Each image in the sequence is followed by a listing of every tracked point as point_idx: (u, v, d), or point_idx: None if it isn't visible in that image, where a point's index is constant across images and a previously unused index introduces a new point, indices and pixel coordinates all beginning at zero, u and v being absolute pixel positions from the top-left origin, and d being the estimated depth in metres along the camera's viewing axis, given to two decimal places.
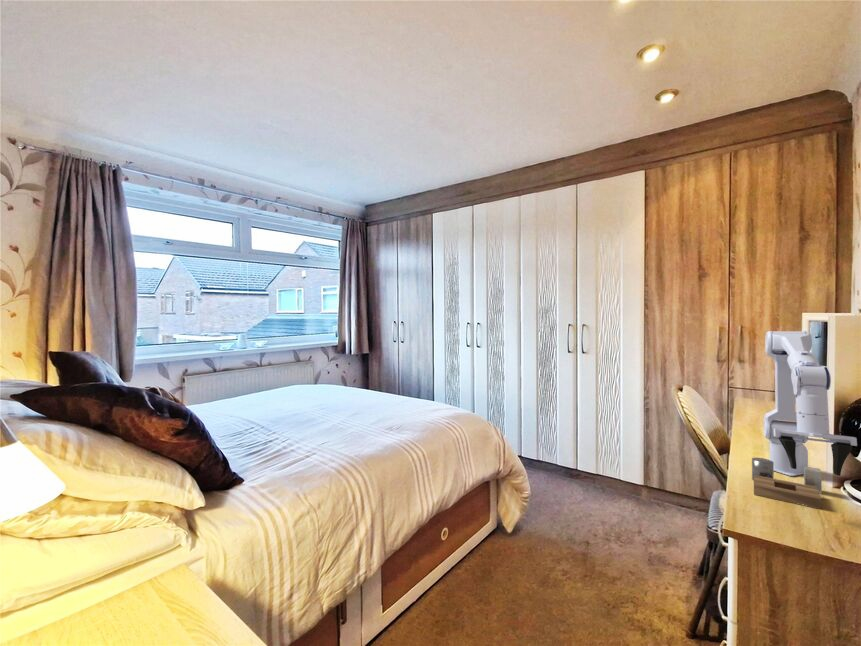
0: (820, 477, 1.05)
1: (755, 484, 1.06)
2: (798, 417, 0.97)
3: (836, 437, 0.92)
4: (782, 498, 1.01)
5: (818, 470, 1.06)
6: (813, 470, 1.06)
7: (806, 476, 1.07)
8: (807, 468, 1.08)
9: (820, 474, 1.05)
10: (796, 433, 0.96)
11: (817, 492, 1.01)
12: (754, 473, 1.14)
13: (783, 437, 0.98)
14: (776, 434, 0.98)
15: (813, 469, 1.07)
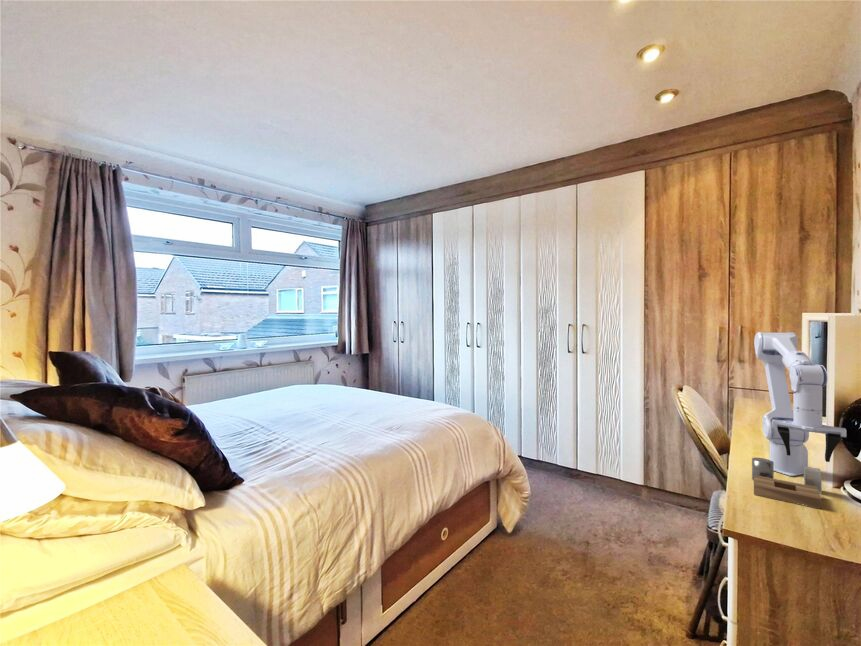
0: (820, 477, 1.05)
1: (755, 484, 1.06)
2: (794, 411, 1.08)
3: (827, 429, 1.03)
4: (782, 498, 1.01)
5: (818, 470, 1.06)
6: (813, 470, 1.06)
7: (806, 476, 1.07)
8: (807, 468, 1.08)
9: (820, 474, 1.05)
10: (791, 425, 1.07)
11: (817, 492, 1.01)
12: (754, 473, 1.14)
13: (779, 428, 1.10)
14: (773, 425, 1.10)
15: (813, 469, 1.07)
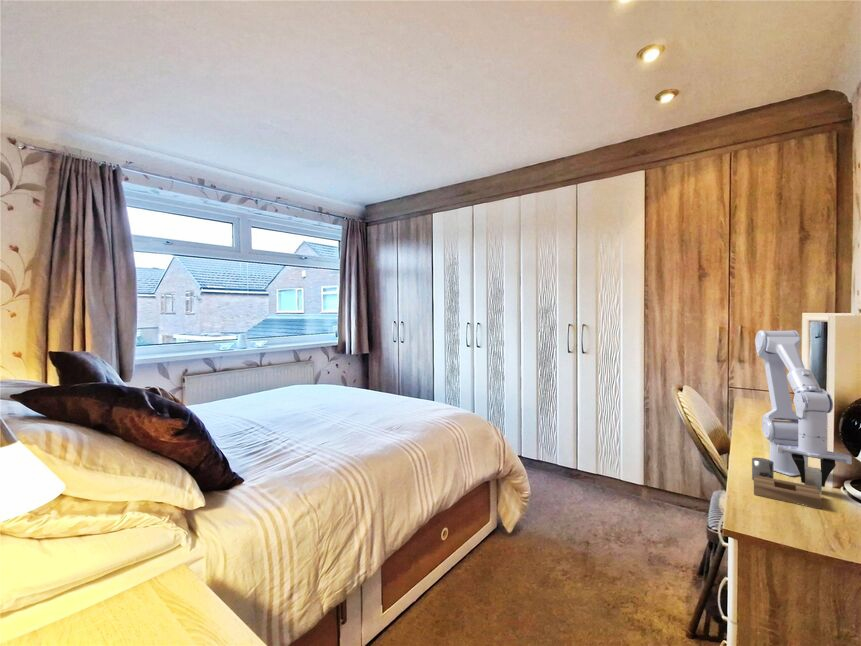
0: (820, 477, 1.05)
1: (755, 484, 1.06)
2: (799, 437, 1.08)
3: (832, 456, 1.03)
4: (782, 498, 1.01)
5: (818, 470, 1.06)
6: (813, 470, 1.06)
7: (806, 476, 1.07)
8: (807, 468, 1.08)
9: (820, 474, 1.05)
10: (796, 451, 1.08)
11: (817, 492, 1.01)
12: (754, 473, 1.14)
13: (794, 455, 1.09)
14: (778, 451, 1.11)
15: (813, 469, 1.07)
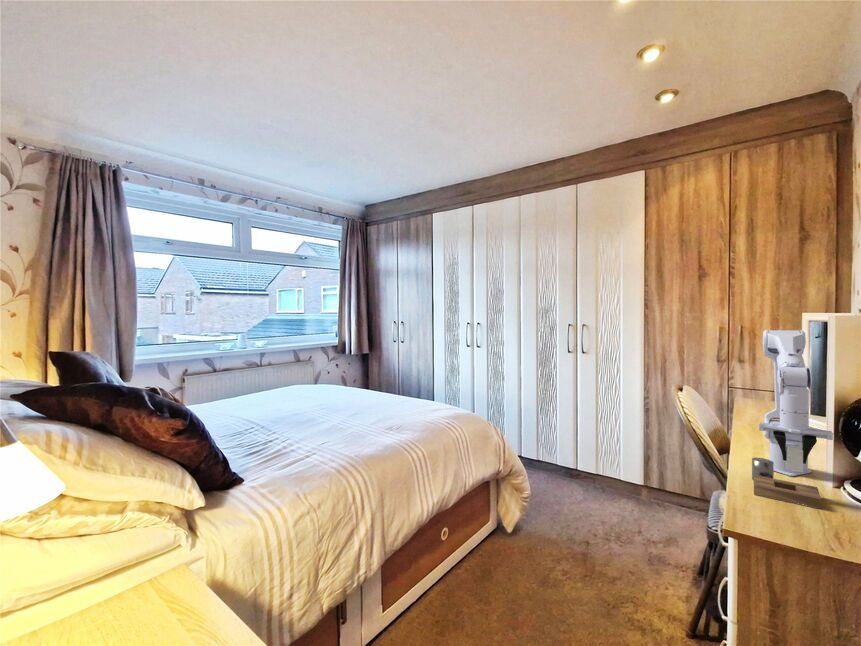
0: (802, 455, 1.03)
1: (755, 484, 1.06)
2: (780, 413, 1.06)
3: (813, 432, 1.01)
4: (782, 498, 1.01)
5: (800, 448, 1.04)
6: (795, 448, 1.04)
7: (788, 454, 1.05)
8: (789, 446, 1.06)
9: (802, 452, 1.03)
10: (777, 428, 1.06)
11: (817, 492, 1.01)
12: (754, 473, 1.14)
13: (775, 432, 1.07)
14: (760, 428, 1.09)
15: (794, 447, 1.05)
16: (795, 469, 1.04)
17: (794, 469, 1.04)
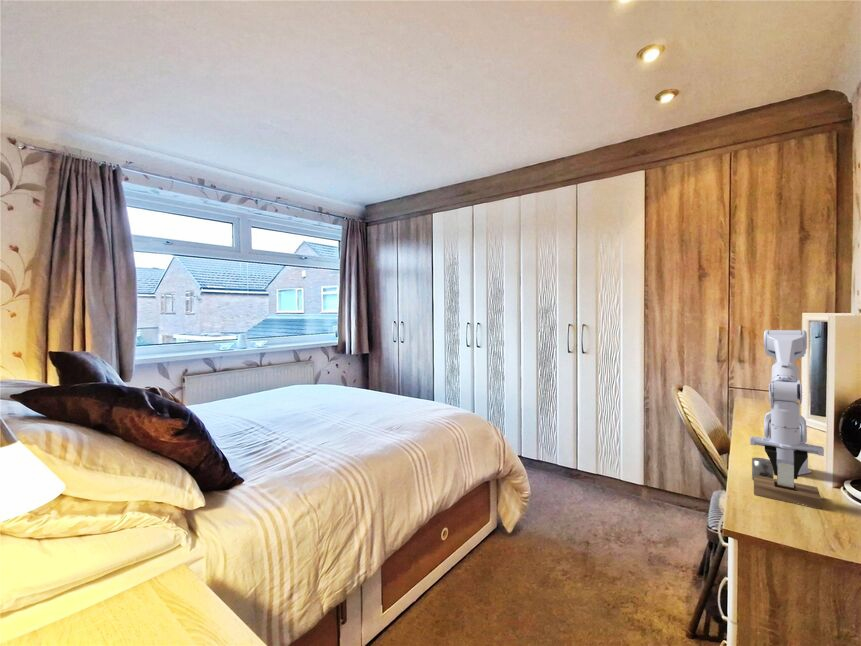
0: (792, 470, 1.02)
1: (755, 484, 1.06)
2: (771, 428, 1.05)
3: (804, 448, 1.00)
4: (782, 498, 1.01)
5: (791, 463, 1.03)
6: (786, 463, 1.03)
7: (778, 469, 1.04)
8: (780, 461, 1.05)
9: (792, 467, 1.02)
10: (768, 443, 1.05)
11: (817, 492, 1.01)
12: (754, 473, 1.14)
13: (766, 447, 1.06)
14: (751, 443, 1.08)
15: (785, 462, 1.04)
16: (786, 484, 1.03)
17: (785, 484, 1.03)
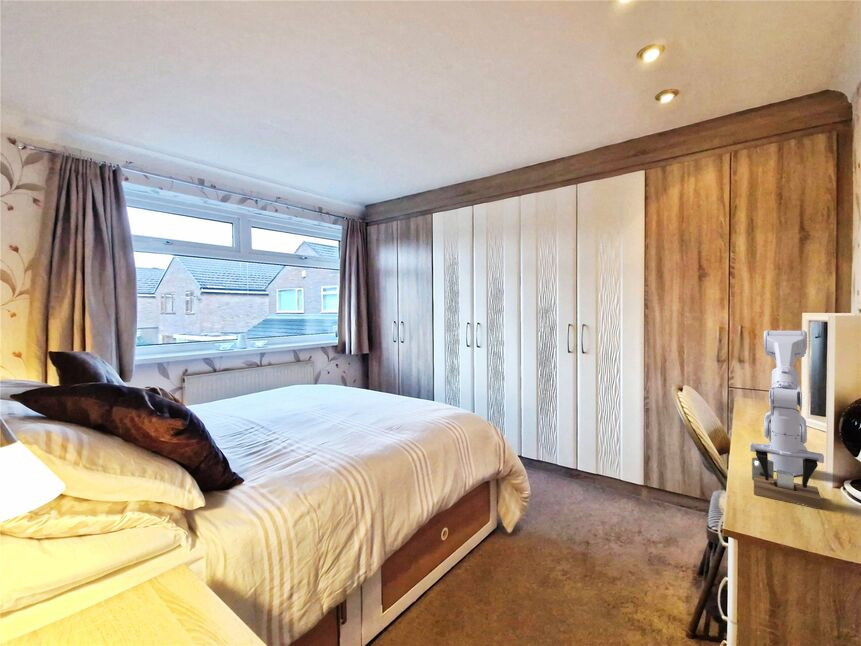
0: (792, 481, 1.02)
1: (755, 484, 1.06)
2: (771, 435, 1.05)
3: (804, 455, 1.00)
4: (782, 498, 1.01)
5: (790, 474, 1.03)
6: (785, 474, 1.03)
7: (778, 480, 1.04)
8: (780, 471, 1.05)
9: (792, 478, 1.02)
10: (768, 450, 1.05)
11: (817, 492, 1.01)
12: (754, 473, 1.14)
13: (758, 452, 1.07)
14: (751, 449, 1.08)
15: (785, 473, 1.04)
16: None
17: None
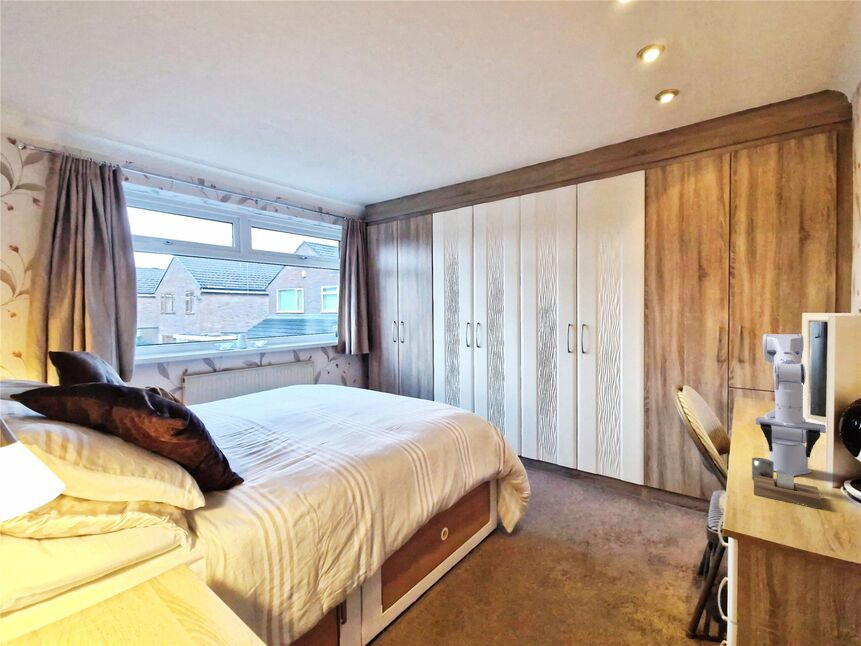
0: (792, 481, 1.02)
1: (755, 484, 1.06)
2: (776, 408, 1.11)
3: (807, 426, 1.06)
4: (782, 498, 1.01)
5: (790, 474, 1.03)
6: (785, 474, 1.03)
7: (778, 480, 1.04)
8: (780, 471, 1.05)
9: (792, 478, 1.02)
10: (773, 422, 1.10)
11: (817, 492, 1.01)
12: (754, 473, 1.14)
13: (762, 425, 1.13)
14: (756, 422, 1.13)
15: (785, 473, 1.04)
16: None
17: None
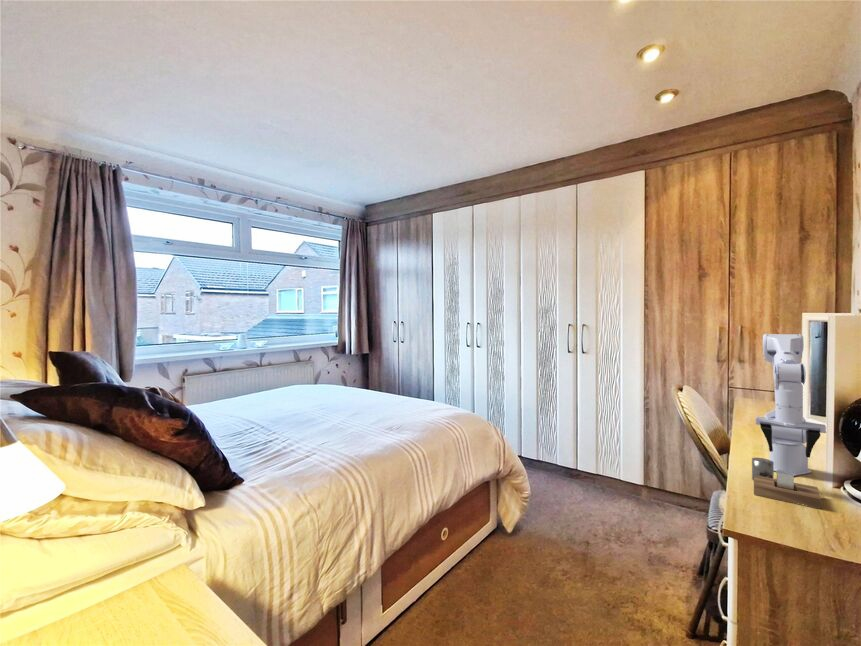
0: (792, 481, 1.02)
1: (755, 484, 1.06)
2: (776, 408, 1.11)
3: (807, 426, 1.06)
4: (782, 498, 1.01)
5: (790, 474, 1.03)
6: (785, 474, 1.03)
7: (778, 480, 1.04)
8: (780, 471, 1.05)
9: (792, 478, 1.02)
10: (773, 422, 1.10)
11: (817, 492, 1.01)
12: (754, 473, 1.14)
13: (762, 425, 1.13)
14: (756, 422, 1.13)
15: (785, 473, 1.04)
16: None
17: None
